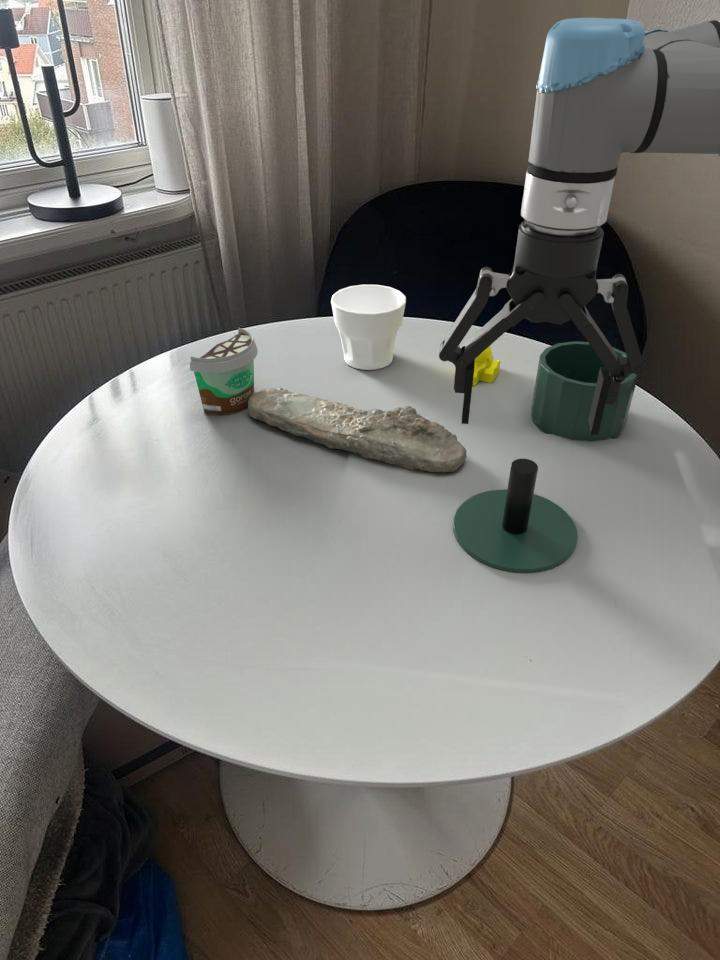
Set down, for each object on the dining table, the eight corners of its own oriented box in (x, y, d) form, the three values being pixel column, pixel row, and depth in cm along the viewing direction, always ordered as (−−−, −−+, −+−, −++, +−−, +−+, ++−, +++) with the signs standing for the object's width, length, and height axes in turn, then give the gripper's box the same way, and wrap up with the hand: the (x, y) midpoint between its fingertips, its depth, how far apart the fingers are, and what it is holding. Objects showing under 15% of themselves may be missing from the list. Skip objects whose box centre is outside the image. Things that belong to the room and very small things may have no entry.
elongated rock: (272, 400, 114) (236, 433, 107) (267, 372, 111) (229, 403, 104) (477, 448, 99) (450, 489, 93) (478, 416, 96) (450, 457, 89)
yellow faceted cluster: (502, 367, 120) (508, 325, 115) (487, 388, 114) (492, 345, 109) (469, 360, 122) (473, 318, 117) (453, 381, 116) (457, 337, 111)
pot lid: (570, 502, 91) (585, 435, 84) (581, 583, 79) (599, 512, 73) (455, 491, 92) (461, 426, 86) (449, 569, 81) (456, 500, 75)
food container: (229, 427, 105) (221, 367, 99) (197, 417, 108) (187, 357, 102) (277, 391, 114) (272, 334, 108) (247, 382, 116) (240, 326, 110)
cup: (380, 337, 129) (380, 278, 123) (418, 364, 121) (421, 303, 114) (320, 353, 124) (317, 293, 118) (355, 383, 116) (354, 320, 109)
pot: (617, 399, 111) (630, 344, 105) (630, 447, 100) (646, 389, 95) (529, 393, 113) (538, 338, 107) (532, 440, 102) (542, 382, 96)
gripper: (420, 229, 62) (410, 431, 75) (717, 243, 59) (654, 451, 72) (427, 205, 68) (416, 396, 81) (697, 216, 65) (642, 413, 78)
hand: (528, 422), depth 76 cm, fingers open, 13 cm apart
